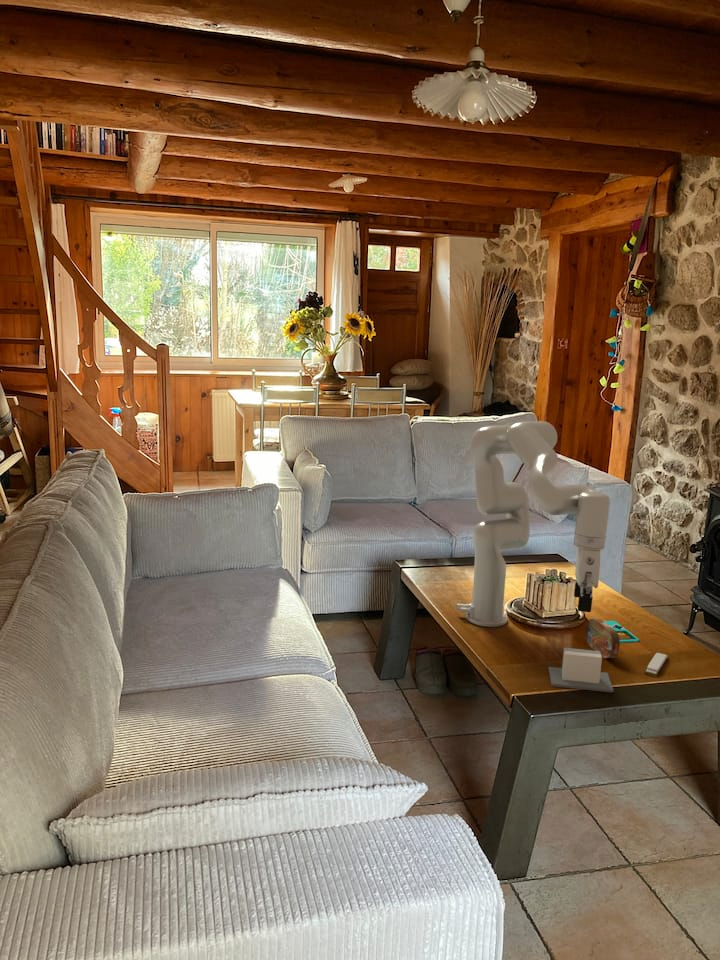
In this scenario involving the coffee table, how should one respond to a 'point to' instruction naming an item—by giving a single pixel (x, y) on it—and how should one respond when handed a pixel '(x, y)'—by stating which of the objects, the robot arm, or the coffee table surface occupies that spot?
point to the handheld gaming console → (622, 629)
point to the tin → (602, 638)
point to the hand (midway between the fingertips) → (582, 604)
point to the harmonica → (656, 664)
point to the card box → (581, 665)
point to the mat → (559, 682)
